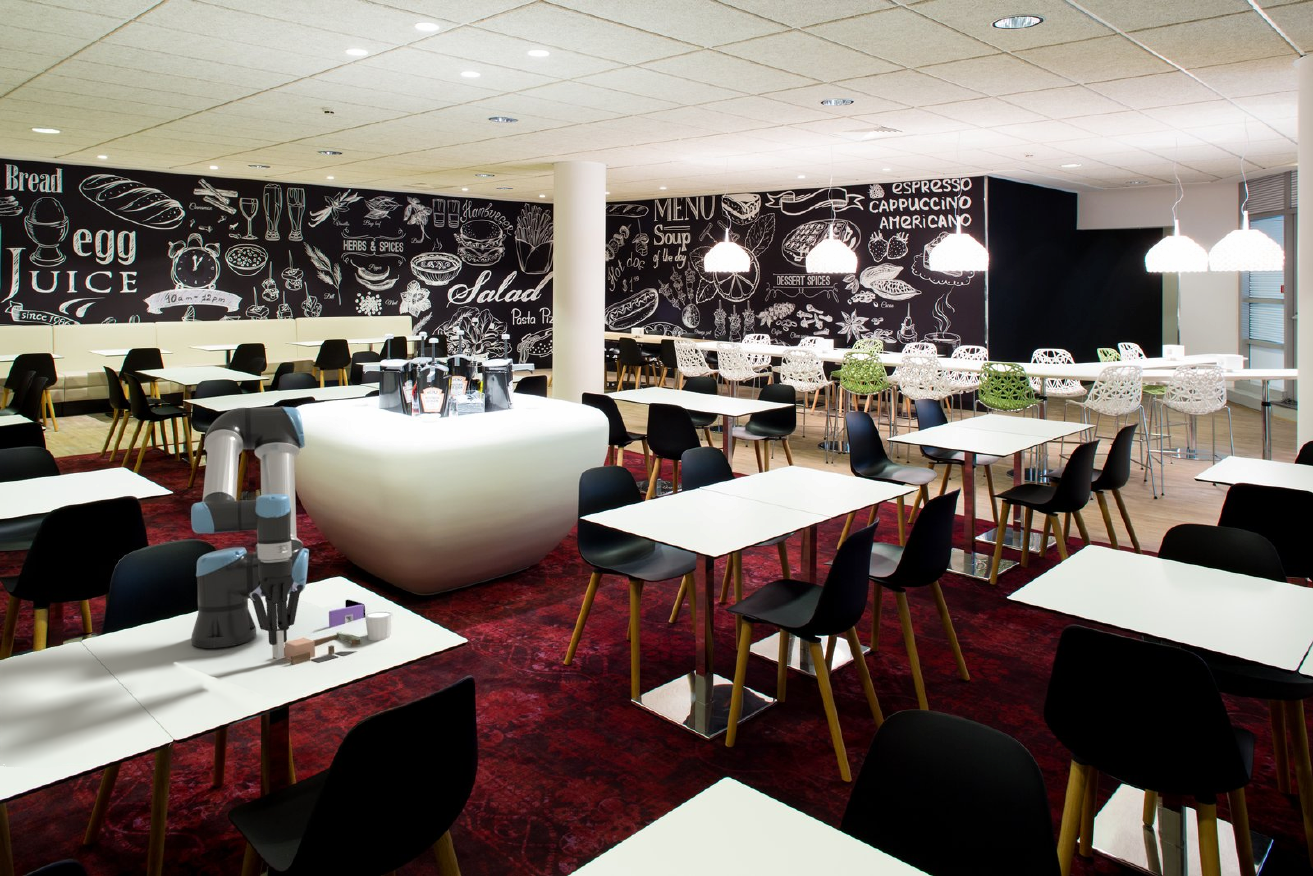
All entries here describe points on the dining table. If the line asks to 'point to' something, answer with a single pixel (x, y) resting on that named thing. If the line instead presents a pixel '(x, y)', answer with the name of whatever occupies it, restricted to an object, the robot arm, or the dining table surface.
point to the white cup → (379, 625)
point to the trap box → (347, 637)
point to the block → (299, 647)
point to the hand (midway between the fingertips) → (278, 657)
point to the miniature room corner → (346, 613)
